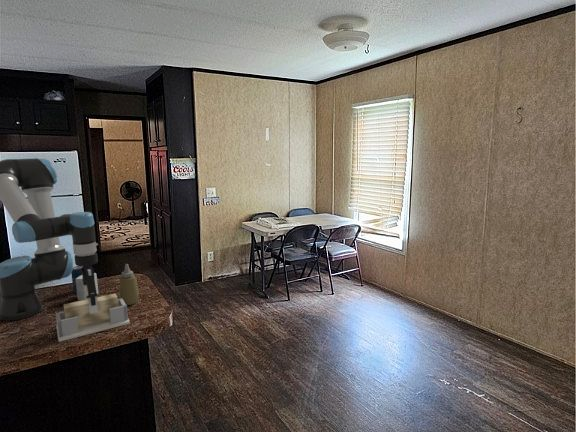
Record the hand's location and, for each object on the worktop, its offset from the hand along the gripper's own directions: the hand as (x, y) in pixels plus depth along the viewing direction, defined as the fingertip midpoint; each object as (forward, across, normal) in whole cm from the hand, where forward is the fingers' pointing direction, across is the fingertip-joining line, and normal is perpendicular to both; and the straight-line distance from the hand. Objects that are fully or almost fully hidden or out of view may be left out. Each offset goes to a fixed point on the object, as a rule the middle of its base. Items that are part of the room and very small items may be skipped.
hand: (91, 306), depth 140 cm
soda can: (+9, +44, 0) cm, 45 cm away
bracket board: (+8, 0, 0) cm, 8 cm away
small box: (+9, +33, -2) cm, 34 cm away
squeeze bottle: (+8, +15, -16) cm, 24 cm away
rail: (+6, 0, 0) cm, 6 cm away
